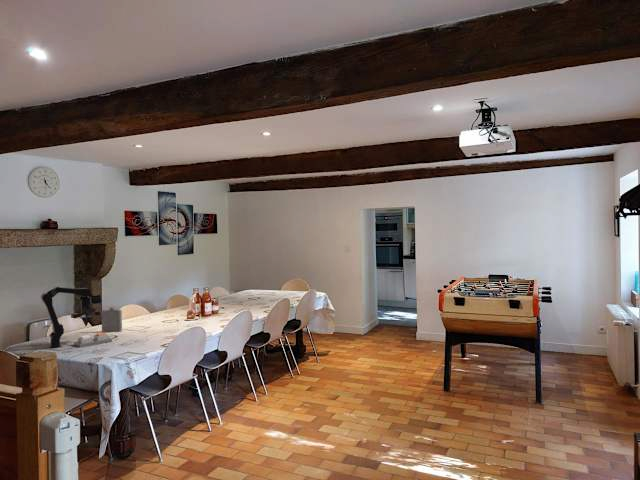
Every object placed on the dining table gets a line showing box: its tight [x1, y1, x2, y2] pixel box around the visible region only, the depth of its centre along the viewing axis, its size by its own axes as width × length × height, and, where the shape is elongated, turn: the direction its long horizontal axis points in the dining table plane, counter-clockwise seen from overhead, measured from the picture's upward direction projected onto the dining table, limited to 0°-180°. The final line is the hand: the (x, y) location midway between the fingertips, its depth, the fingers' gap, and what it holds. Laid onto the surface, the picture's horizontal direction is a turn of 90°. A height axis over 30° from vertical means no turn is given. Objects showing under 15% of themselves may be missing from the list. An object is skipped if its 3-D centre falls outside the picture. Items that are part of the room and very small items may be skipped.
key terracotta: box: [95, 332, 107, 336], centre depth 332 cm, size 5×5×3 cm
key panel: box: [73, 333, 113, 348], centre depth 328 cm, size 12×22×5 cm, turn 137°
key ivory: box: [79, 334, 91, 339], centre depth 324 cm, size 5×5×3 cm
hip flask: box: [101, 306, 123, 333], centre depth 367 cm, size 16×4×20 cm, turn 93°
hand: (86, 325), depth 332 cm, fingers closed
